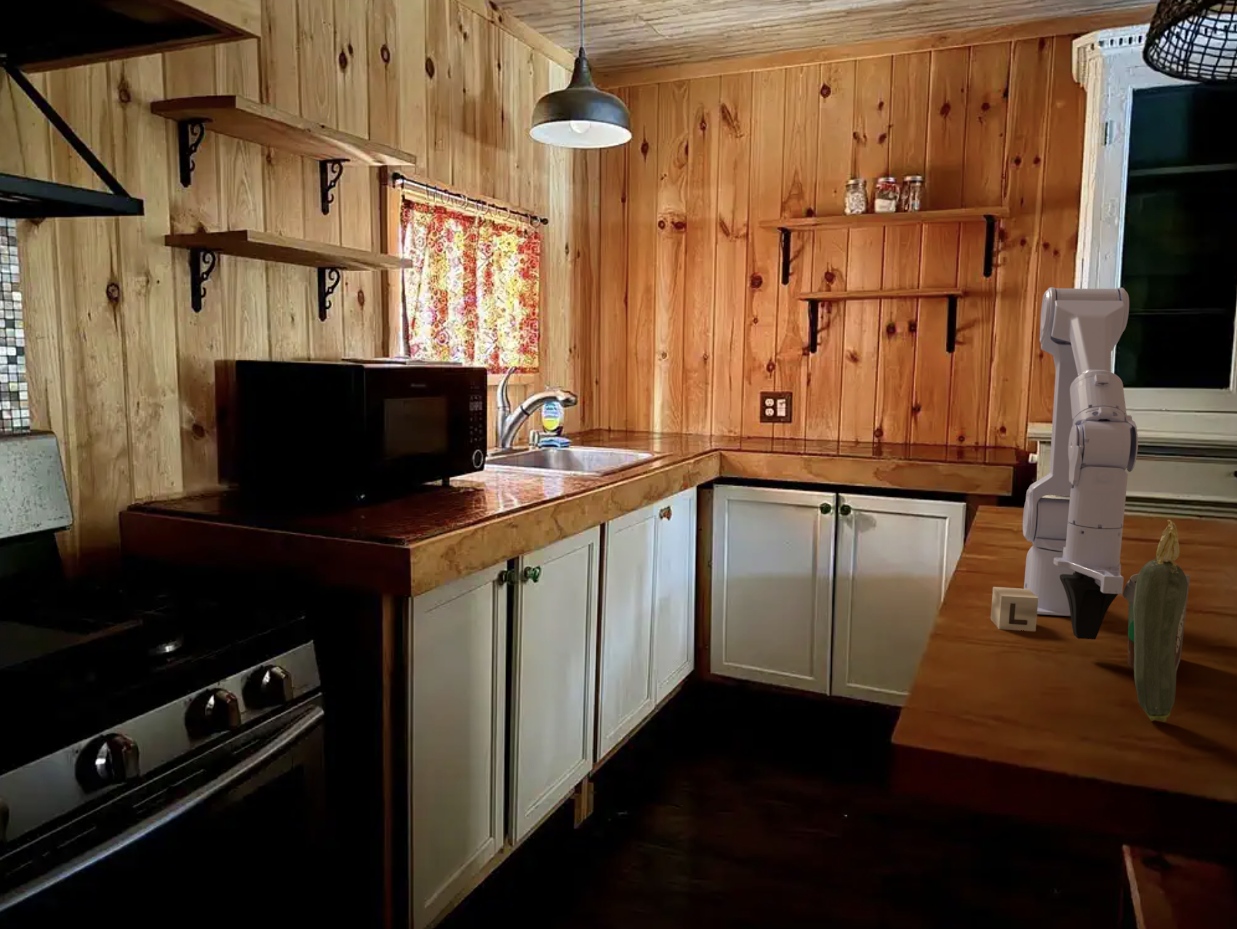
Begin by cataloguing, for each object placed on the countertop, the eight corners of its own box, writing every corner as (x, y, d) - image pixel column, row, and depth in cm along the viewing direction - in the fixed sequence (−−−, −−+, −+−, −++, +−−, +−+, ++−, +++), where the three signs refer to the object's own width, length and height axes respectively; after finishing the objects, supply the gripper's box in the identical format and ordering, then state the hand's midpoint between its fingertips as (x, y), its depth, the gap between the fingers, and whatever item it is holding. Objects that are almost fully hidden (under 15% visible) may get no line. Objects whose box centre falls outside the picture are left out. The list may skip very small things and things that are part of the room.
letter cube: (990, 619, 126) (993, 586, 125) (1025, 621, 125) (1028, 588, 124) (999, 630, 121) (1001, 596, 120) (1035, 632, 120) (1038, 598, 120)
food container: (1123, 645, 116) (1131, 566, 114) (1181, 655, 112) (1190, 574, 111) (1108, 673, 106) (1117, 586, 104) (1171, 685, 102) (1181, 596, 101)
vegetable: (1159, 734, 89) (1180, 527, 86) (1113, 718, 93) (1132, 519, 90) (1181, 723, 92) (1202, 522, 89) (1135, 709, 95) (1154, 515, 93)
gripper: (1040, 511, 116) (1031, 616, 118) (1078, 535, 102) (1068, 655, 104) (1101, 513, 115) (1091, 620, 117) (1148, 538, 101) (1136, 659, 103)
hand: (1084, 637), depth 111 cm, fingers closed
